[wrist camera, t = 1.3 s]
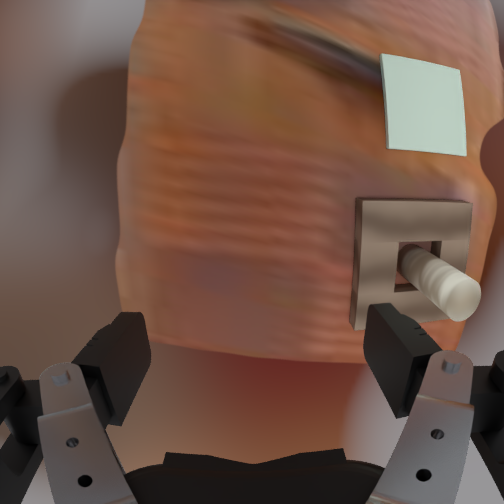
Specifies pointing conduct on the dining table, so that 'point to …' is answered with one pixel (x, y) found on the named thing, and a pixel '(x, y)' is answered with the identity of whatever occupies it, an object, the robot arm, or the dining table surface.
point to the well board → (386, 251)
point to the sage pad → (423, 106)
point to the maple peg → (439, 282)
